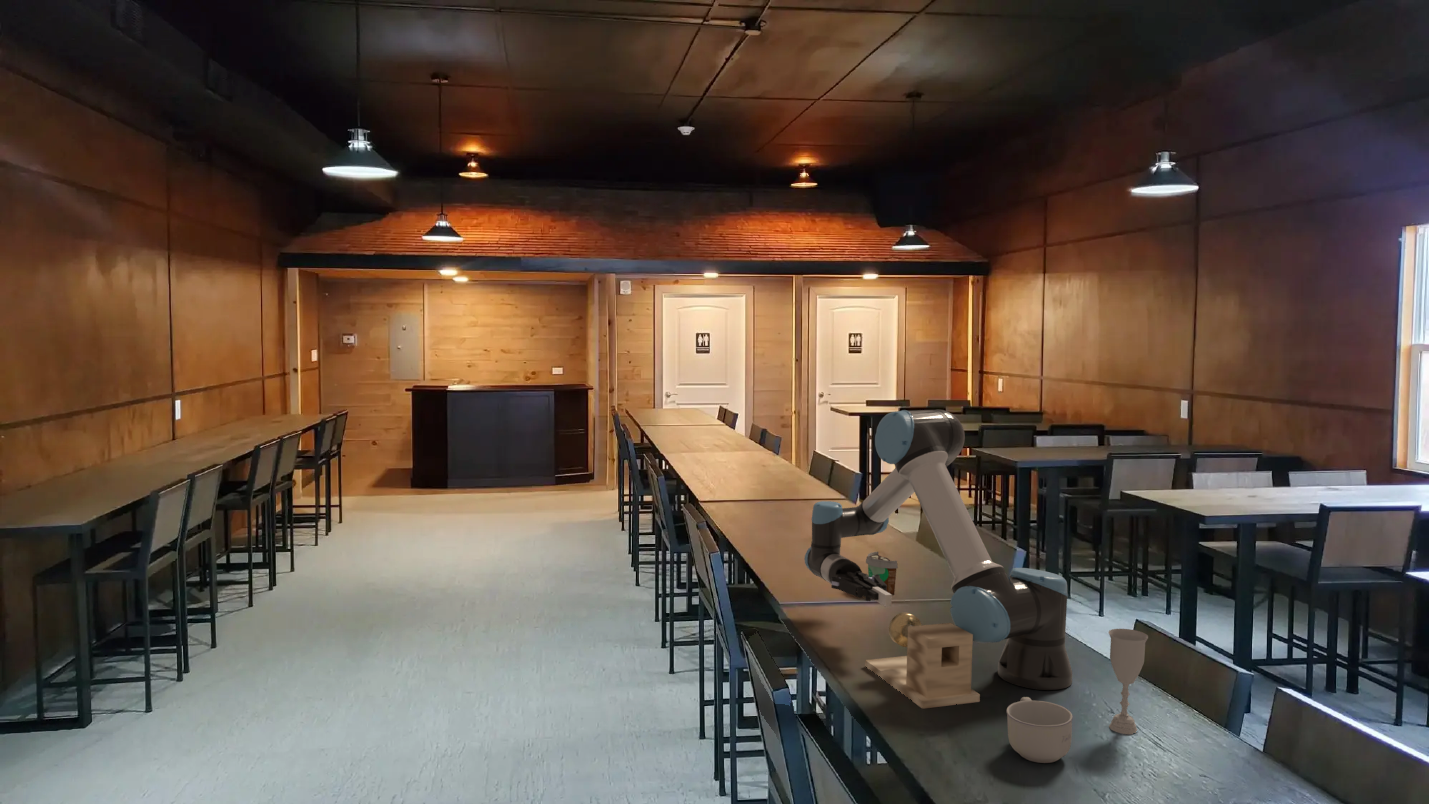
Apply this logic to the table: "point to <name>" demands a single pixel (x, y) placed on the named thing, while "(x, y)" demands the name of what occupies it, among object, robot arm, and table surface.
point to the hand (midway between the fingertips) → (888, 600)
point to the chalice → (1126, 671)
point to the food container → (882, 569)
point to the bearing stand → (932, 666)
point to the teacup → (1039, 730)
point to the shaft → (902, 627)
